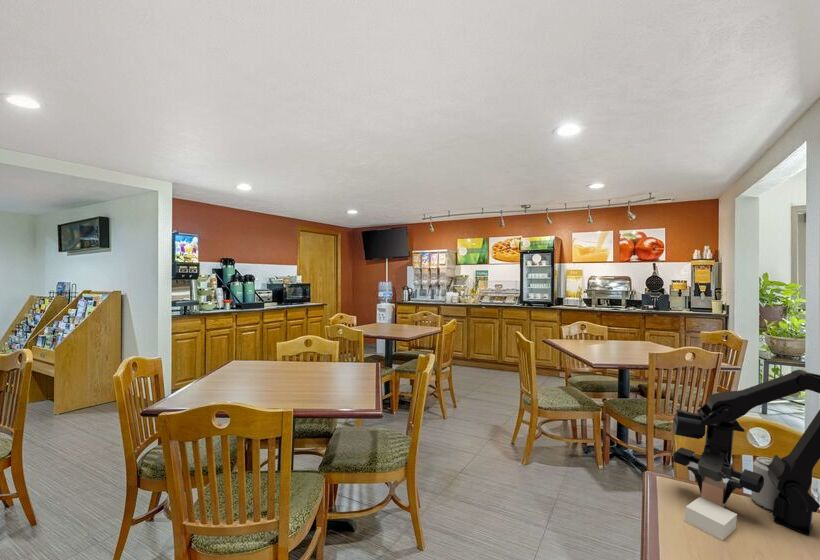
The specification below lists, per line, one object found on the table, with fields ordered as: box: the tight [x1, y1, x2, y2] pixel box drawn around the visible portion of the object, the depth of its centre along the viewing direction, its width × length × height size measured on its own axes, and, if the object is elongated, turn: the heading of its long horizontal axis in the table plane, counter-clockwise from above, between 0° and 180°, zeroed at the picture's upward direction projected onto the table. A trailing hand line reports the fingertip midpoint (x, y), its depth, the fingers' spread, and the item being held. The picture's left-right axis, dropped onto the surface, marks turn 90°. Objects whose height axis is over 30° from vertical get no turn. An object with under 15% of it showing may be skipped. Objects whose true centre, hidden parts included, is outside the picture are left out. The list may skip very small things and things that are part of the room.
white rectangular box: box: [684, 496, 738, 541], centre depth 99 cm, size 8×8×4 cm
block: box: [700, 477, 727, 508], centre depth 107 cm, size 4×4×6 cm
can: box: [750, 456, 780, 511], centre depth 108 cm, size 8×8×12 cm
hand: (713, 498), depth 107 cm, fingers closed on block, 4 cm apart
